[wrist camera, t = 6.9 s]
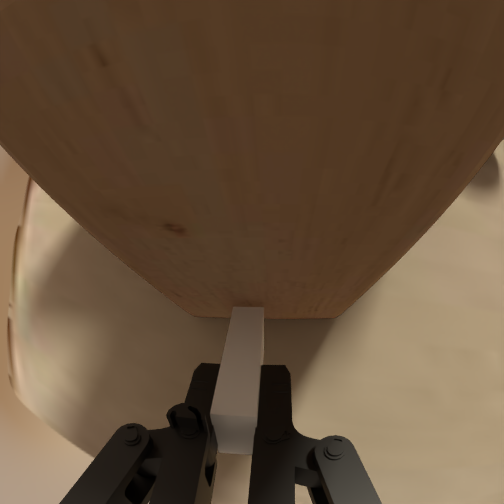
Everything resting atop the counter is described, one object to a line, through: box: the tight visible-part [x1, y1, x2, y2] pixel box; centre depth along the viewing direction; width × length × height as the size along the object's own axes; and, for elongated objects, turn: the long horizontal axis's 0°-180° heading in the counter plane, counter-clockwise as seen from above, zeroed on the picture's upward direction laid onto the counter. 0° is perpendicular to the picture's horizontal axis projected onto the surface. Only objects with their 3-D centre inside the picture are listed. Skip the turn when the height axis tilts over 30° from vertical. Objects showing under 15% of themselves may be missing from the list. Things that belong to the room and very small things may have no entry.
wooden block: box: [0, 0, 504, 319], centre depth 12 cm, size 10×10×20 cm
